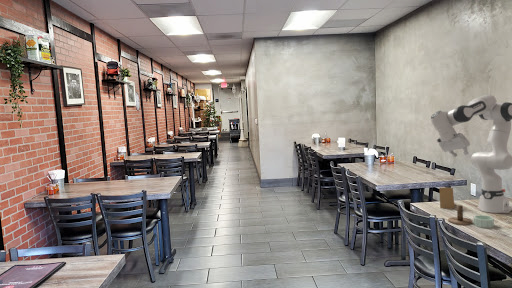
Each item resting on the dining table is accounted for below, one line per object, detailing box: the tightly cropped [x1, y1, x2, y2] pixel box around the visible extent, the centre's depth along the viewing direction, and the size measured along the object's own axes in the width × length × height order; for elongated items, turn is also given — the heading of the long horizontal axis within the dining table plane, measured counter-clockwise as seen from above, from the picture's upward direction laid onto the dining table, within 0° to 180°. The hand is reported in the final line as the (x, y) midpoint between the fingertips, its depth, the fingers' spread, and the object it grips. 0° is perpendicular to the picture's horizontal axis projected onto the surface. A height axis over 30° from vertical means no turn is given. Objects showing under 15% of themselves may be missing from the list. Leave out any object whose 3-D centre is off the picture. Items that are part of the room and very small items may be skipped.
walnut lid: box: [447, 204, 474, 226], centre depth 217 cm, size 13×13×10 cm
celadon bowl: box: [473, 214, 495, 229], centre depth 208 cm, size 10×10×4 cm
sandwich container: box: [438, 186, 455, 210], centre depth 253 cm, size 9×15×15 cm, turn 149°
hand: (461, 155), depth 216 cm, fingers open, 8 cm apart
